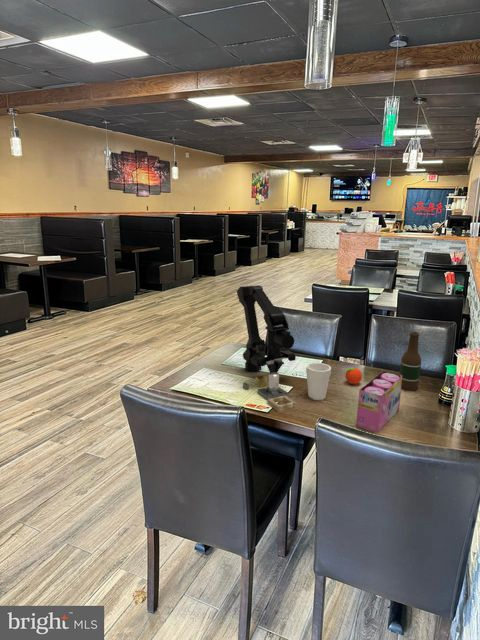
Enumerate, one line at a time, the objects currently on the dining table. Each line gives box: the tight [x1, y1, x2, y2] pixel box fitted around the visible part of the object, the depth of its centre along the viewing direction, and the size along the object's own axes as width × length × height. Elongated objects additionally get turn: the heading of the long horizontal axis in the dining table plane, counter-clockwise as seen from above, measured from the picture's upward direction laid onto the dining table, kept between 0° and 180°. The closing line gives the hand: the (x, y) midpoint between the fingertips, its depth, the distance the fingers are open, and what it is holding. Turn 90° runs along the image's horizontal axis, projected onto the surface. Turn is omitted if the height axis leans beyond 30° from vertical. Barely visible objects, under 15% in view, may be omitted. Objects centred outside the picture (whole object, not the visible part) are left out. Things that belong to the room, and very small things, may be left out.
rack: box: [266, 396, 297, 412], centre depth 160 cm, size 8×7×3 cm
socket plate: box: [242, 382, 291, 400], centre depth 171 cm, size 14×18×3 cm
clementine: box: [344, 367, 363, 385], centre depth 183 cm, size 8×7×7 cm
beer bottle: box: [398, 331, 422, 392], centre depth 177 cm, size 8×8×24 cm
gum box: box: [355, 370, 402, 433], centre depth 153 cm, size 24×8×14 cm, turn 143°
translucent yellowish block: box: [254, 374, 269, 388], centre depth 177 cm, size 4×3×4 cm
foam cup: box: [305, 362, 332, 401], centre depth 167 cm, size 10×9×13 cm
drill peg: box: [267, 372, 280, 395], centre depth 167 cm, size 4×4×9 cm
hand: (272, 377), depth 180 cm, fingers closed
